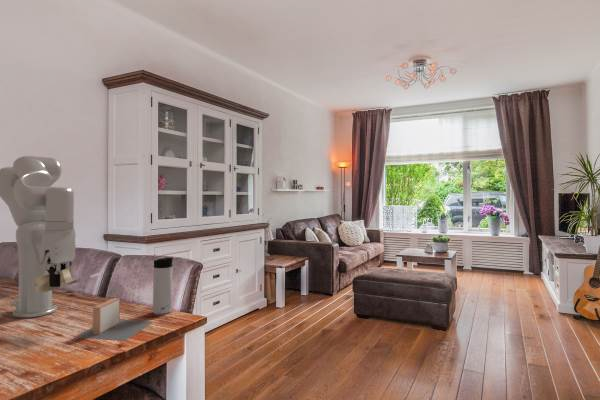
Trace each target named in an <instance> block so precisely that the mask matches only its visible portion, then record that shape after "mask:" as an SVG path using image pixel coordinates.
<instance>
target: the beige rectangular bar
mask: <svg viewBox="0 0 600 400" xmlns="http://www.w3.org/2000/svg"><path fill="white" fill-rule="evenodd" d="M59 274H60V287H50V286H49V275H50V274H48V275H45V276H42V277H38V278H35V279H33V280H34V284H35V287H36V290H37V294H41V293H44V292H47V291H51V290H52V291H53V290H57V289H60V288H63V287H66V286H70V285H73V284H76V283H80V282H83V281H86V280H88V279H92V278H95V277H98V276H101V272H97V273H94V274H91V275H88V276H85V277H81V278H77V279H75V280H73V277H72V276H71V272H70V271H69V268H68V269H64V270H61V271H60V270H59Z"/></svg>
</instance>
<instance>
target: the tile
mask: <svg viewBox="0 0 600 400" xmlns="http://www.w3.org/2000/svg"><path fill="white" fill-rule="evenodd" d="M120 303H121V299H120V298H119V297H118V298H117V297H115V298H114V297H113V298H111V299H108V300H106V301H105V302H102V303H100V304H97V305H95V306H93V308H92V309H93V310H92V327H93V334H97V335H99V334H101V333H103V332H105V331H107V330H108V329H110V328H112V327H114V326H116V325H117V324H119V323H120V320H121V319H120V317H121V316H120V313H121V308H120V307H121V305H120Z"/></svg>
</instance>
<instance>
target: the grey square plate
mask: <svg viewBox="0 0 600 400" xmlns="http://www.w3.org/2000/svg"><path fill="white" fill-rule="evenodd" d="M153 323H154V321H143V320H128V319H127V320H126V319H125V320H124V319H120V323H119V324H117V325H116V326H114V327H112V328H110V329H108V330H107V331H105V332H103V333H101V334H99V335H97V334H93V326H92V327H90V328H88V329H86V330H85V331H83V332H80V333H79V334H76V335H74V336H73V338H75V339H76V338H78V339H92V340H105V341H107V340H108V341H109V340H110V341H122V342H124V341H127V340H128V339H130V338H132V337H134V336H135V335H136V334H138V333H140V332H141V331H143V330H144V329H145V328H148V327H149V326H150V325H152V324H153Z"/></svg>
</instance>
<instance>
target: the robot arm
mask: <svg viewBox="0 0 600 400" xmlns="http://www.w3.org/2000/svg"><path fill="white" fill-rule="evenodd" d="M61 175H62V166H61V163H60V162H59V160H58V159H56V158H54V157H47V156H46V157H44V156H43V157H42V156H33V155H26V156H25V155H23V156H20V157H18V158H16V159H15V161H14V162H13V163H12V166H7V167H3V168H0V199H2V201H3V202H4V203H5V204H6V205H7V207H8V209H9V212H10V214H11V216H12V217H11V218H12V219H13V222H14V224H15V225H16V226H17V229H16V230H15V239H16V246H17V252H18V299H17V298H15V299H13V301H12V302H10V304H9V306H10V307H15V310H14V311H12V316H13V317H14V318H18V319H19V318H20V319H21V318H22V319H24V318H25V319H26V318H37V317H42V316H47V315H49V314H50V315H51V314H52V313H55V312H56V311H57V310H58V306H57V305H56V304H53V290H51V291H47V292H44V293H41V294H37V290H36V287H35V284H34V280H33V279H35V278H38V277H42V276H45V275H48V274H50V275H49V286H50V287H60V274H59V271H61V270H64V269H68V268H69V271H70V270H71V266H72V264H73V263H74V262H75V261H76V236H77V235H76V229H75V227H74V216H75V215H74V213H75V212H74V211H75V210H74V209H75V208H74V207H75V205H74V203H75V201H74V199H75V193H74V190H73V188H71V187H62V186H60V187H59V186H52V185H54V184H55V183H56V182H57V181H58V180H59V178H60V177H61ZM60 288H61V287H60Z"/></svg>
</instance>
